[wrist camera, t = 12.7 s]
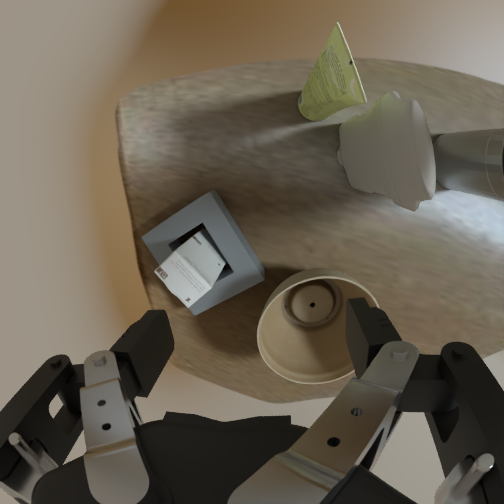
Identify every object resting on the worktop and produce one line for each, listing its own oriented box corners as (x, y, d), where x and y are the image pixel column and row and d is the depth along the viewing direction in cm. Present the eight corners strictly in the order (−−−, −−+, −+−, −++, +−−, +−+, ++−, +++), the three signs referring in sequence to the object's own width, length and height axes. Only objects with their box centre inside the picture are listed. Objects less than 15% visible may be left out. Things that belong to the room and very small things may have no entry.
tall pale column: (369, 189, 39) (456, 215, 18) (343, 194, 39) (414, 224, 18) (355, 118, 36) (432, 79, 15) (329, 122, 37) (387, 79, 15)
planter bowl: (373, 262, 42) (400, 290, 32) (341, 348, 47) (354, 389, 36) (273, 239, 42) (274, 263, 32) (250, 332, 47) (245, 374, 36)
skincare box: (230, 255, 43) (215, 288, 32) (209, 274, 44) (189, 311, 33) (202, 225, 42) (176, 248, 30) (182, 244, 43) (151, 272, 32)
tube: (342, 105, 36) (395, 61, 17) (323, 131, 37) (367, 102, 18) (309, 82, 35) (337, 20, 16) (289, 108, 36) (305, 60, 18)
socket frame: (215, 189, 40) (209, 191, 37) (265, 270, 43) (264, 280, 40) (151, 231, 43) (140, 237, 39) (200, 304, 46) (194, 315, 42)
